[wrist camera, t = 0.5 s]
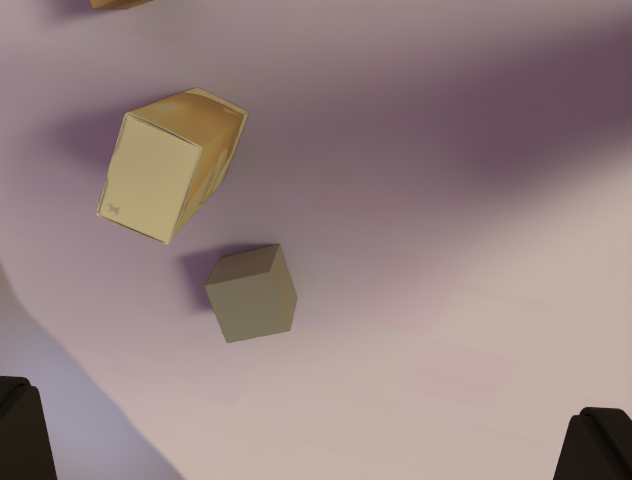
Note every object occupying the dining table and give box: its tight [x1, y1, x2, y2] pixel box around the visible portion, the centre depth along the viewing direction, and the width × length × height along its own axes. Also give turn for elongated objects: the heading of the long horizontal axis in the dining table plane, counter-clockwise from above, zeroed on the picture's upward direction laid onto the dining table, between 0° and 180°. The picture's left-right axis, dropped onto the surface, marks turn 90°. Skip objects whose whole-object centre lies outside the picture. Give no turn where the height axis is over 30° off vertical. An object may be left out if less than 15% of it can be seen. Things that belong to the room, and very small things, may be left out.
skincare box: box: [96, 88, 248, 245], centre depth 33 cm, size 6×4×12 cm
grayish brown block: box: [204, 244, 297, 343], centre depth 41 cm, size 5×5×5 cm
